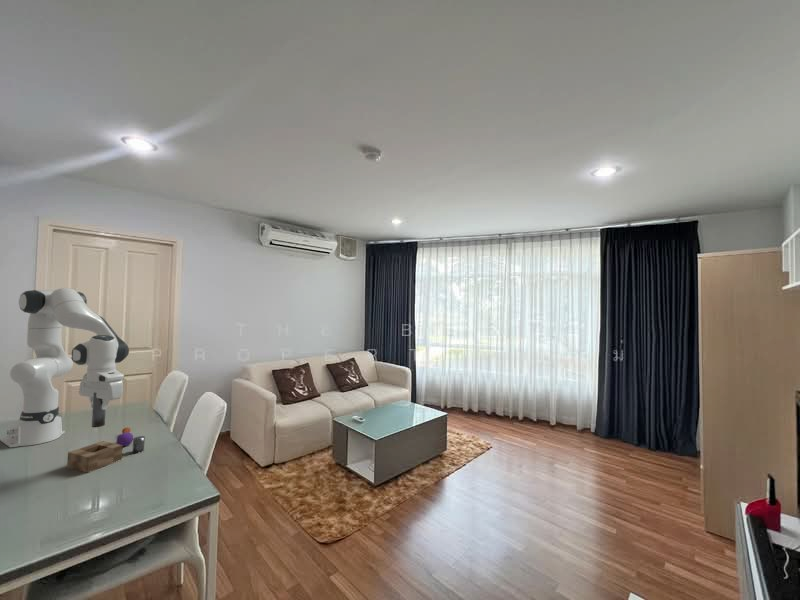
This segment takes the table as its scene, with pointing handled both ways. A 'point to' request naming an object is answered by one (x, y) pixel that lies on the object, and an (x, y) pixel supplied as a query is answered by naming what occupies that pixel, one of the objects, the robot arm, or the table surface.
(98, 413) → the long pin
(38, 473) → the table surface
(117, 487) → the table surface
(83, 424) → the table surface
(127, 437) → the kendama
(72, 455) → the hole block
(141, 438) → the short pin
